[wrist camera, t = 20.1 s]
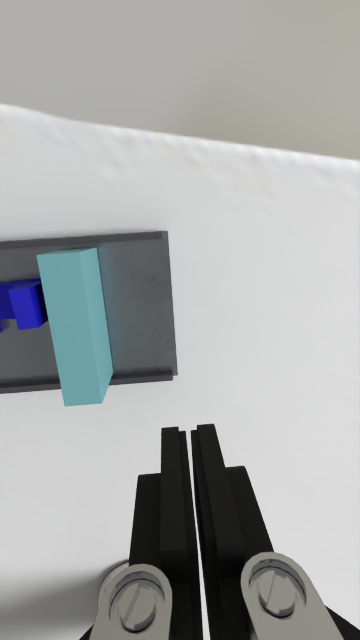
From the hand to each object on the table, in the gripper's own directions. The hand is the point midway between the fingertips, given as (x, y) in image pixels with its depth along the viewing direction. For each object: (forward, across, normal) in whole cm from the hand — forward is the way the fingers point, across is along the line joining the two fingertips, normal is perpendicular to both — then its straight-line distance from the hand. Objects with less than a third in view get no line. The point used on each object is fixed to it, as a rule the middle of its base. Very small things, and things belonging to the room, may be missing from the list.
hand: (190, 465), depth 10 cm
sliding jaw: (+20, +8, 0) cm, 22 cm away
